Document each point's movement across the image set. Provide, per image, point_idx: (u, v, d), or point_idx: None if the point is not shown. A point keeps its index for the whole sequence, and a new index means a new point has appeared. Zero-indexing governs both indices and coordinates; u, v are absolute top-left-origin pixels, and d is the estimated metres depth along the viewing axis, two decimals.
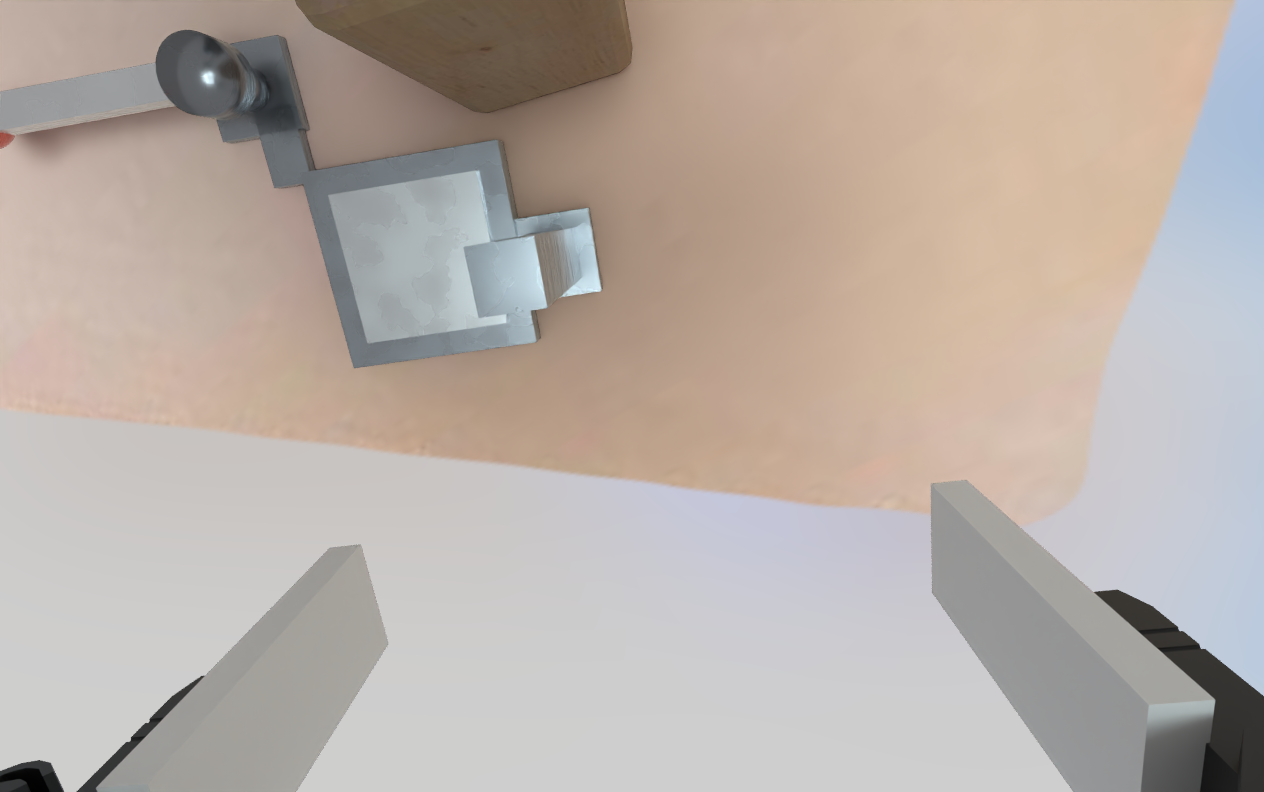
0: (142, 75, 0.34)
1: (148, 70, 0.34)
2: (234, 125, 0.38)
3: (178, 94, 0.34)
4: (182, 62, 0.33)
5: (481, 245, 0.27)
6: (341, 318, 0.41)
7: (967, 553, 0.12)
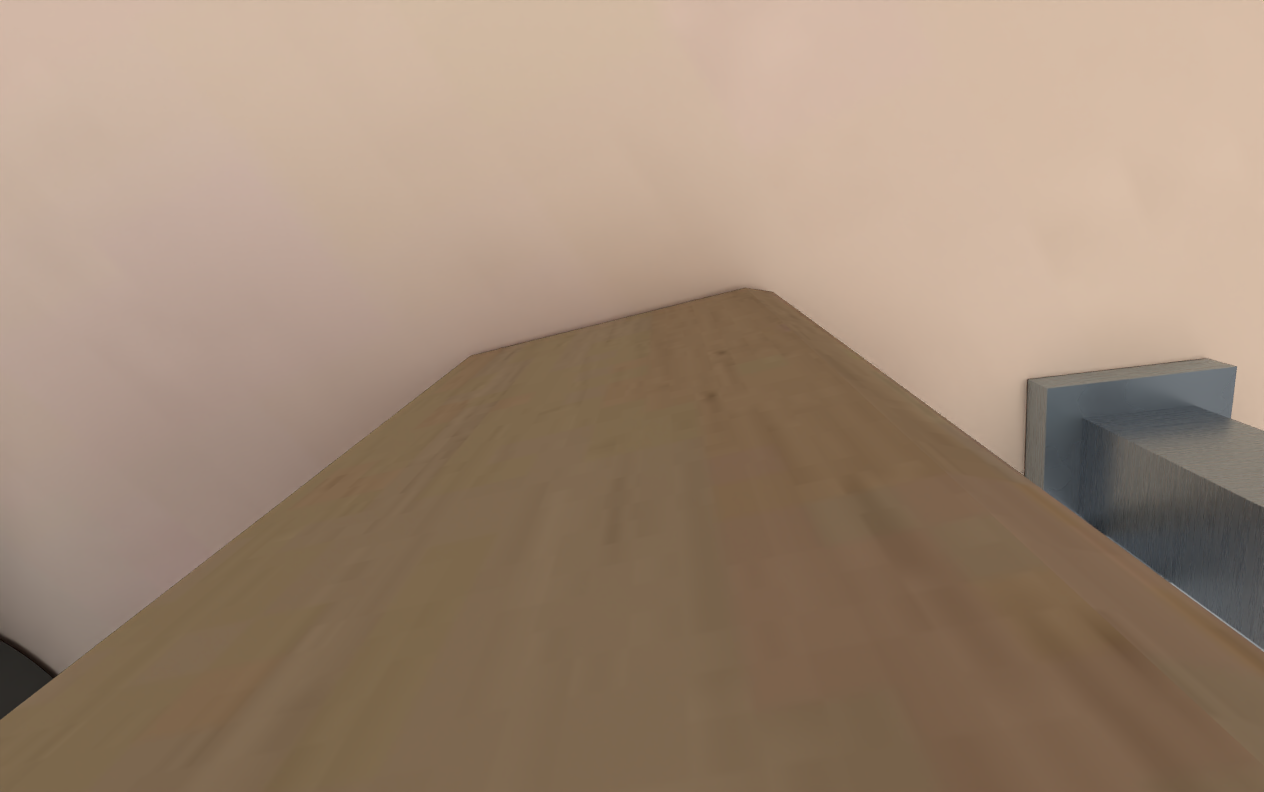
0: None
1: None
2: None
3: None
4: None
5: None
6: None
7: None
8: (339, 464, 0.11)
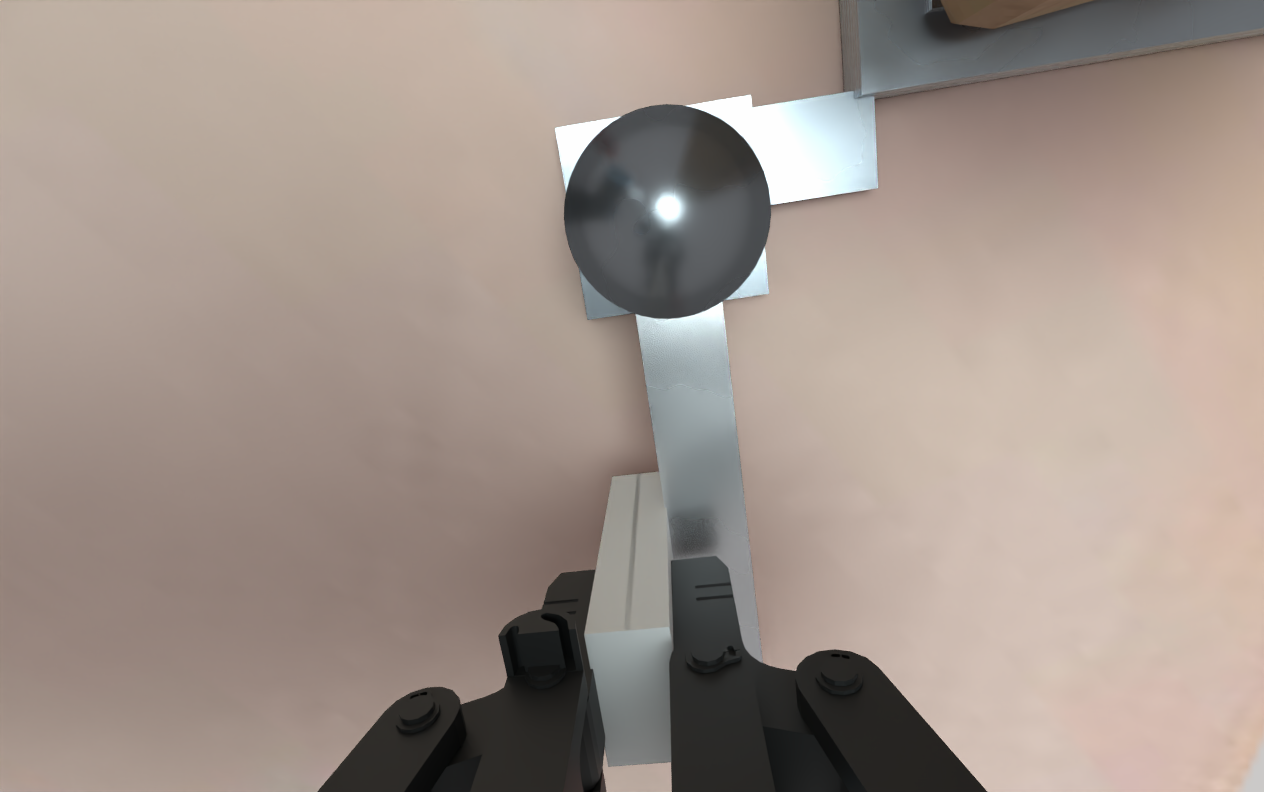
0: (664, 363, 0.14)
1: (654, 345, 0.14)
2: None
3: (715, 270, 0.13)
4: (640, 243, 0.13)
5: None
6: (1254, 25, 0.15)
7: None
8: None
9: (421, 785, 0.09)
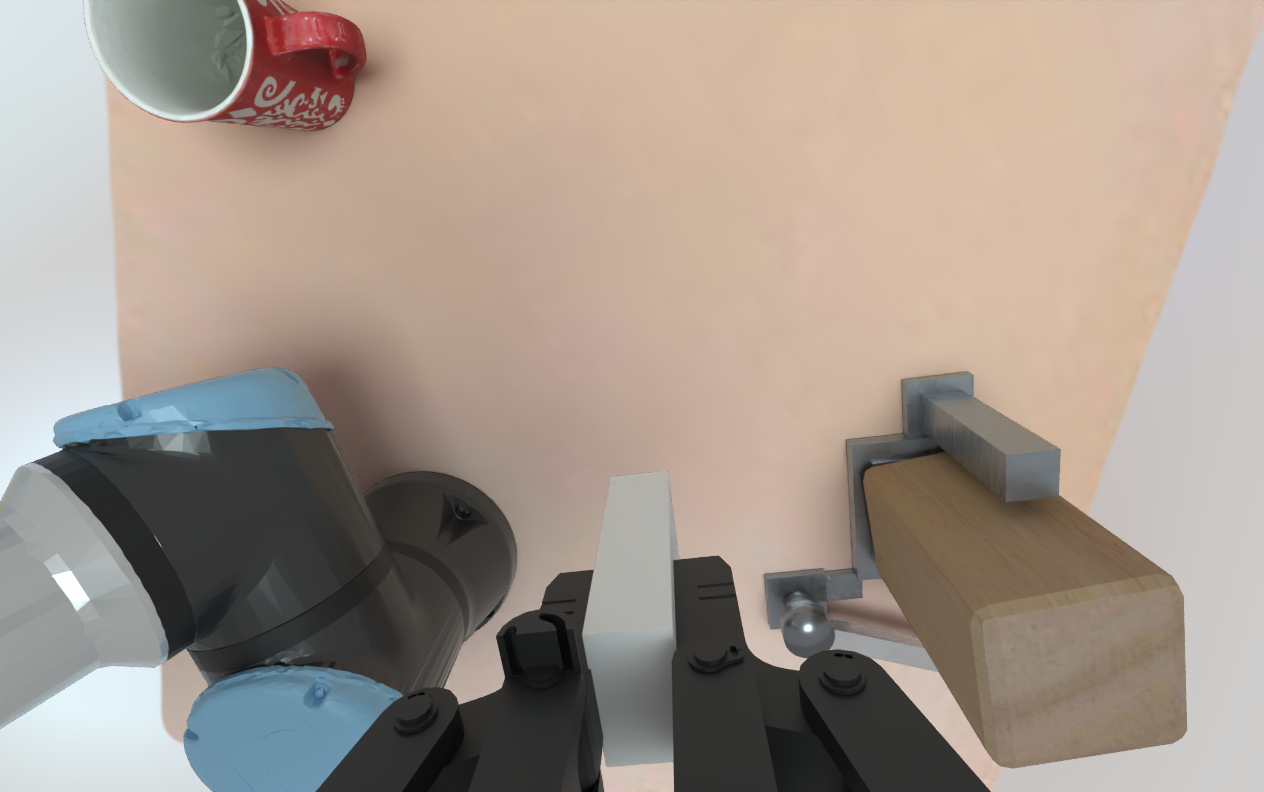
0: (843, 646, 0.52)
1: (837, 647, 0.52)
2: None
3: (826, 630, 0.51)
4: (812, 643, 0.51)
5: (1007, 490, 0.38)
6: None
7: None
8: (919, 516, 0.42)
9: (419, 785, 0.09)
